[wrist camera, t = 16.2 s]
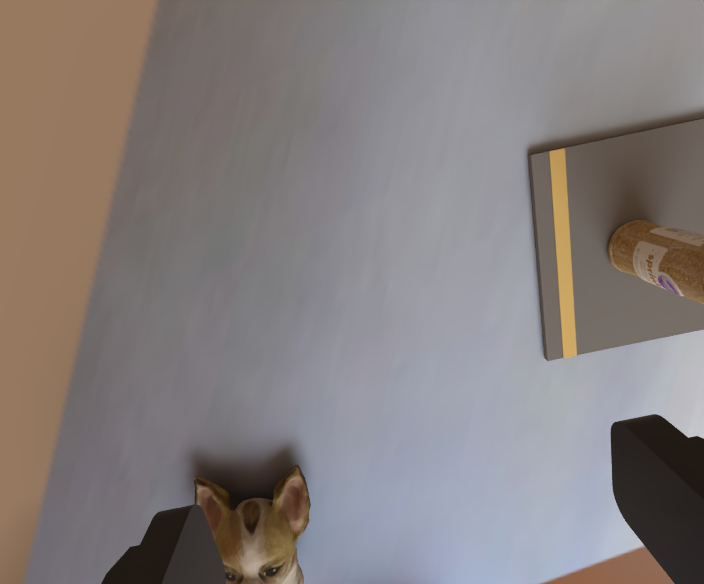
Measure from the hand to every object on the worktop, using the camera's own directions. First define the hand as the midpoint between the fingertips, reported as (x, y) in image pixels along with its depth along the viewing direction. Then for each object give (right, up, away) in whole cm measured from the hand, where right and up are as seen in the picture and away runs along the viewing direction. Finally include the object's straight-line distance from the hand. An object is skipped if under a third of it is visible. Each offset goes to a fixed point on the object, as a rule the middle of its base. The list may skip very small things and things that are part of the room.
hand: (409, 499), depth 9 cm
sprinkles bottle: (+22, +8, +30) cm, 38 cm away
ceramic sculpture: (-10, -18, +37) cm, 43 cm away
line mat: (+22, +8, +30) cm, 38 cm away
